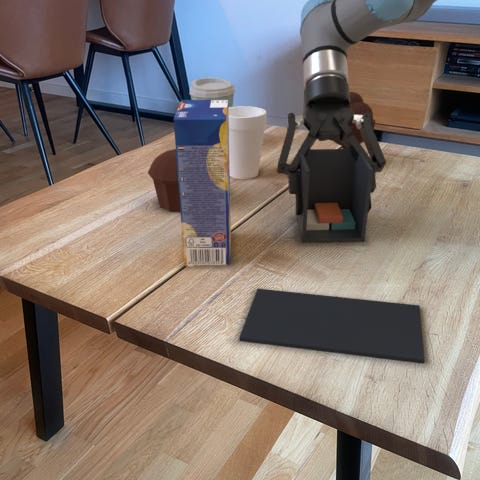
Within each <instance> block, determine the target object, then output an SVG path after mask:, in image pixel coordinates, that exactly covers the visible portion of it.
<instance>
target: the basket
mask: <svg viewBox="0 0 480 480" xmlns="http://www.w3.org/2000/svg"><path fill="white" fill-rule="evenodd" d="M298 151H299V149H298V150H297V152H298ZM298 171H301V180H302V201H303V210H302V213H301V215H296V210H295V212H294V213H295V214H294V218H295V222H296V225H297V229H298V233H299V238H300V241H301V244H319V243H364V242H365V241H366V233H367V232H366V231H367V224H368V218H369V217H368V215H369V212H368V209H369V201H370V193H371V185H372V177H373V168H372V167H371V165H370V164H369V162H368V161H367V159H366V158H365V156H364V155H363V154H359V156H358V159H357V161H355V159H354V158H353V156H352V153H351V150H350V149H343V148H314V149H313V148H311V149H309V151H308V153H307V155H306V157H304V155H300V166H299V169H298ZM371 194H372V193H371ZM314 203H338V206H339V208H340V209H349V210H350V212H351V214H352V216H353V218H354V220H355V222H356V226H355V229H347V230H331V227H330V225H329V230H306V227H307V210H314Z"/></svg>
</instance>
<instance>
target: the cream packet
mask: <svg viewBox="0 0 480 480" xmlns="http://www.w3.org/2000/svg"><path fill="white" fill-rule="evenodd" d="M306 230H329V223H319V222H318V219H317V216H316V213H315V211H314V210H307V227H306Z"/></svg>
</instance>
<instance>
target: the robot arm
mask: <svg viewBox="0 0 480 480" xmlns="http://www.w3.org/2000/svg"><path fill="white" fill-rule="evenodd" d="M437 1H438V0H307V1H305V4H304V5H303V7H302V9H301V13H300V27H299V35H300V43H301V53H302V73H303V75H302V78H303V89H304V90H303V100H304V101H303V102H304V113H303V114H301V115H296V114H295V113H294V112H289V113H288V114H287V118H286V134H285V137H284V140H283V144H282V148H281V151H280V155H279V157H278V161H277V167H276V172H277V174H279V175H282V174H284V175H285V176H286V177H287V180H288V193H289V195H295V211H296V215H301V213H302V210H303V201H302V180H301V171H298V169H299V166H300V155H304V157H306V155H307V153H308V151H309V149H312V147H313V146H314V144H315V142H316V141H317V140H318V142H326V141H332V142H334V141H337V140H338V139H339V141H340V142H341V144H342V145H344V146H345V147H346V148H347V149H350V150H351V153H352V156H353V158H354V159H355V161H357V159H358V156H359V154H363V155H364V156H365V158H366V159H367V161H368V162H369V164H370V165H371V167H372V168H373V177H372V185H371V193H370V201H369V209H368V213H370V211H371V209H372V208H373V207H372V195H371V194H373V193H374V192H375V190H376V188H377V179H376V173H381V172H382V171H383V170H384V168H385V166H386V164H387V160H386V158H385V155H384V153H383V150H382V148H381V145H380V143H379V141H378V138H377V136H376V133H375V131H374V130H373V128H372V126H371V114H370V113H369V112H364V114H363V115H354V114H353V112H352V111H351V108H350V95H349V92H350V85H349V70H348V69H349V67H348V51H347V50H348V49H349V48H350V47H352V46H354V45H355V44H357V43H359V42H360V41H362V40H364V39H365V38H367V37H369V36H370V35H372V34H374V33H375V32H377V31H378V30H381V29H386V28H388V27H392V26H396V25H400V24H407V23H413V22H415V21H417V20H419V19H420V18H422V17H423V16H425V15H426V14H427V13H429V11H430V10H431V8H432V7H433V4H434V3H436V2H437ZM352 123H355V124H356V126H357V128H358V129H360V132H361V136H362V138H363V141H364V142H363V143H364V146H365V148H366V149H364V147H363V146H362V143H361V144H360V143H359V142H358V140H357V139H356V137H355V136H354V135H353V131H352V129H351V128H350V125H351V124H352ZM302 124H303V126H304V127H305V129H306V130H308V133H307V135H306V137H305V138H304V141H302V144H301V145H300V147H299V149H298V150H299V151H298V150H297V152H296V154H295V156H294V157H293V159H292V161H291V162H290V163H288V159H289V155H290V153H291V149H292V145H293V141H294V138H295V133H296V131H298V130H300V126H301V125H302Z"/></svg>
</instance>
